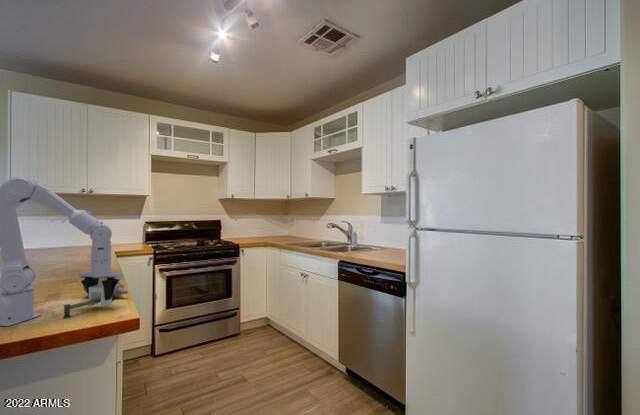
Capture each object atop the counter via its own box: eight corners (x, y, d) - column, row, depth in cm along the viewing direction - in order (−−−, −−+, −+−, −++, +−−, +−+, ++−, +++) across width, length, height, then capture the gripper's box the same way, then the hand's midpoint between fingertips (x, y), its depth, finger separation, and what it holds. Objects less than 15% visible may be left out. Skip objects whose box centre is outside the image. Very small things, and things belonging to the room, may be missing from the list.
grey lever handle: (73, 319, 95) (74, 306, 95) (57, 317, 96) (57, 305, 96) (124, 300, 115) (124, 290, 115) (110, 299, 116) (110, 289, 116)
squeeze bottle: (96, 294, 124) (132, 302, 120) (77, 295, 117) (115, 304, 113) (101, 274, 126) (137, 281, 122) (83, 274, 118) (120, 281, 114)
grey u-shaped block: (102, 306, 104) (103, 287, 104) (88, 306, 104) (88, 287, 104) (111, 303, 108) (112, 284, 108) (97, 302, 108) (98, 284, 108)
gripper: (128, 258, 109) (128, 296, 109) (90, 257, 110) (90, 295, 110) (114, 262, 102) (113, 302, 102) (73, 261, 103) (73, 301, 103)
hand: (100, 299), depth 106 cm, fingers closed on grey u-shaped block, 5 cm apart
